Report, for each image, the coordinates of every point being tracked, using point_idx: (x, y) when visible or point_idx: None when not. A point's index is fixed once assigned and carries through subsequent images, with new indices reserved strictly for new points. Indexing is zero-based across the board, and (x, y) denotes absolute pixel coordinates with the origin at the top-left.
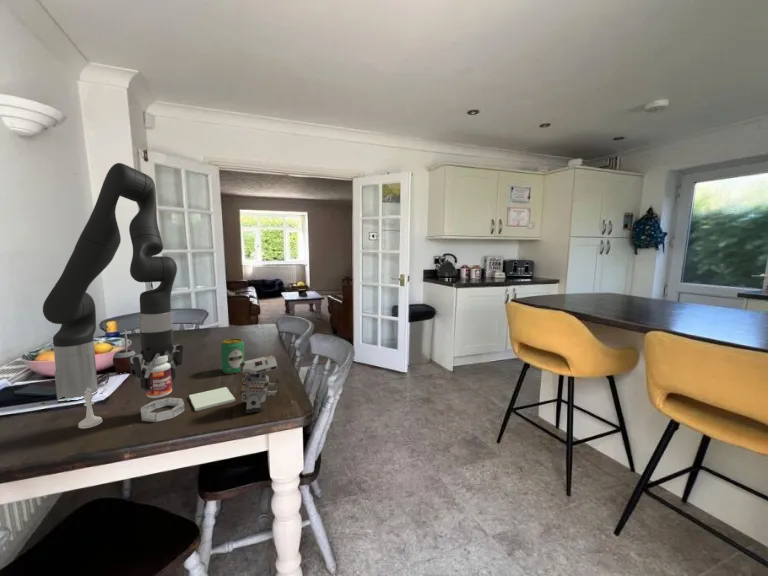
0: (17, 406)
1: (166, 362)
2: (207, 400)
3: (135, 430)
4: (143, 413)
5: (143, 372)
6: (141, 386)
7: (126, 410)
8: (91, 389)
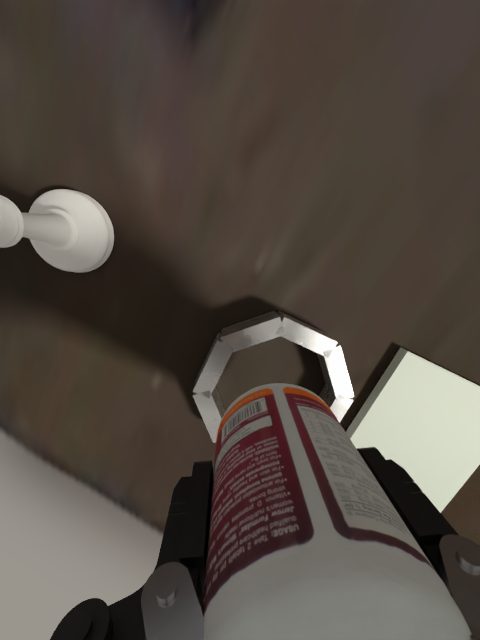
0: None
1: None
2: (395, 451)
3: (151, 424)
4: (197, 398)
5: (178, 631)
6: (173, 501)
7: (209, 235)
8: None
